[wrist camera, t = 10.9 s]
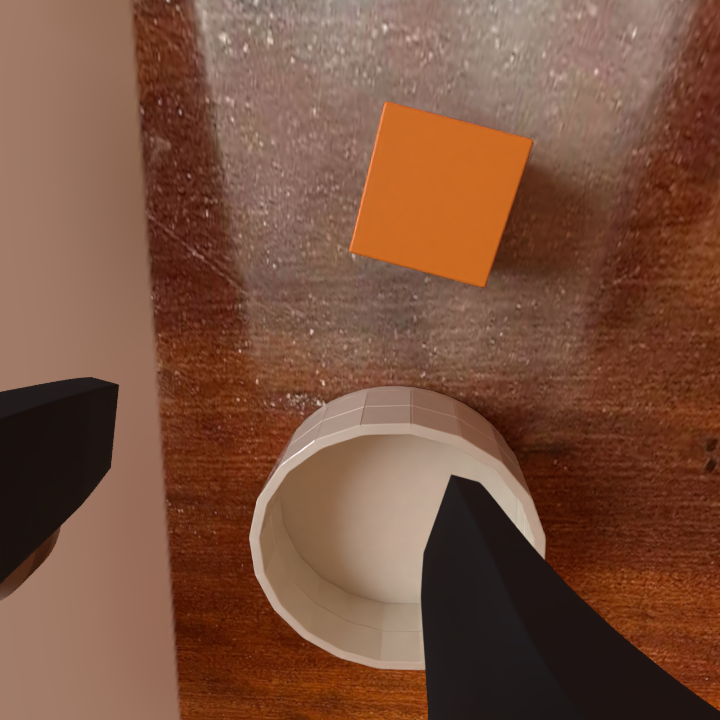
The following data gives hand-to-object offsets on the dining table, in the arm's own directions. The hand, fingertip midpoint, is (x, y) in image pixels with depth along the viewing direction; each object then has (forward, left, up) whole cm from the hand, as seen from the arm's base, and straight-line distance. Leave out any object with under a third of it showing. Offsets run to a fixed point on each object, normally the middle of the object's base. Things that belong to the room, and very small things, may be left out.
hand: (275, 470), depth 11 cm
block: (+2, +6, -9) cm, 11 cm away
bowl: (+4, -6, -9) cm, 12 cm away
